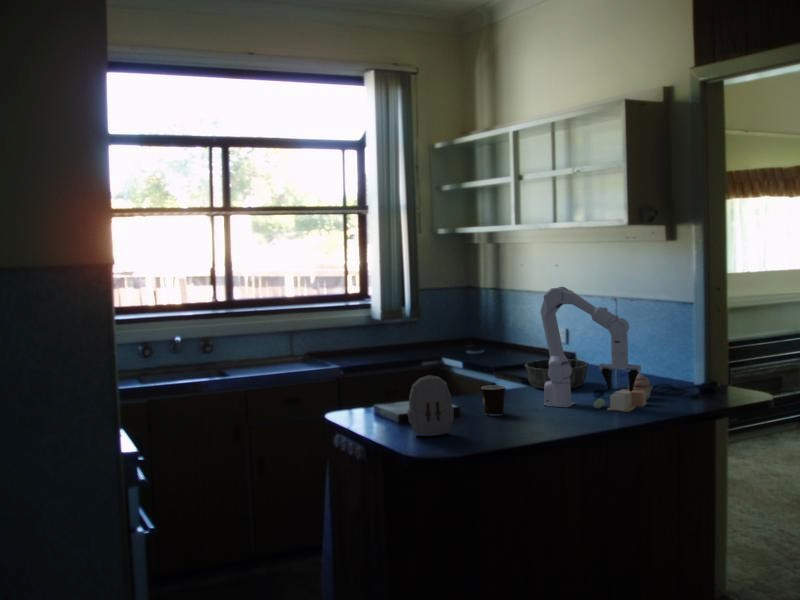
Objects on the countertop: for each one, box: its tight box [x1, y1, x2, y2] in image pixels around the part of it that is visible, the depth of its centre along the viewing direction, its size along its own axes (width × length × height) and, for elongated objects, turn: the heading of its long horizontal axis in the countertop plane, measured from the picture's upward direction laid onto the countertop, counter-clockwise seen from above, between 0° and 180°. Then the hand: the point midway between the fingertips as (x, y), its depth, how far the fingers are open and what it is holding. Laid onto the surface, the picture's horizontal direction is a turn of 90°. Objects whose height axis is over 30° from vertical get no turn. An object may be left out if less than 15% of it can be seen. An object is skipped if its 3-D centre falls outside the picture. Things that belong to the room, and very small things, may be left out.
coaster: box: [606, 406, 637, 413], centre depth 287 cm, size 8×8×1 cm
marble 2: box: [597, 398, 606, 407], centre depth 293 cm, size 3×3×3 cm
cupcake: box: [627, 372, 654, 401], centre depth 303 cm, size 9×9×10 cm
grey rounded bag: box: [407, 374, 455, 435], centre depth 259 cm, size 15×8×20 cm, turn 98°
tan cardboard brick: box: [619, 388, 647, 407], centre depth 294 cm, size 9×5×5 cm, turn 59°
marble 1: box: [593, 399, 603, 410], centre depth 290 cm, size 3×3×3 cm
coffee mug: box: [480, 384, 506, 414], centre depth 289 cm, size 12×9×10 cm
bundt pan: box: [524, 358, 589, 390], centre depth 337 cm, size 26×26×10 cm
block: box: [609, 390, 632, 410], centre depth 287 cm, size 9×5×5 cm, turn 148°
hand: (620, 390), depth 287 cm, fingers open, 7 cm apart
